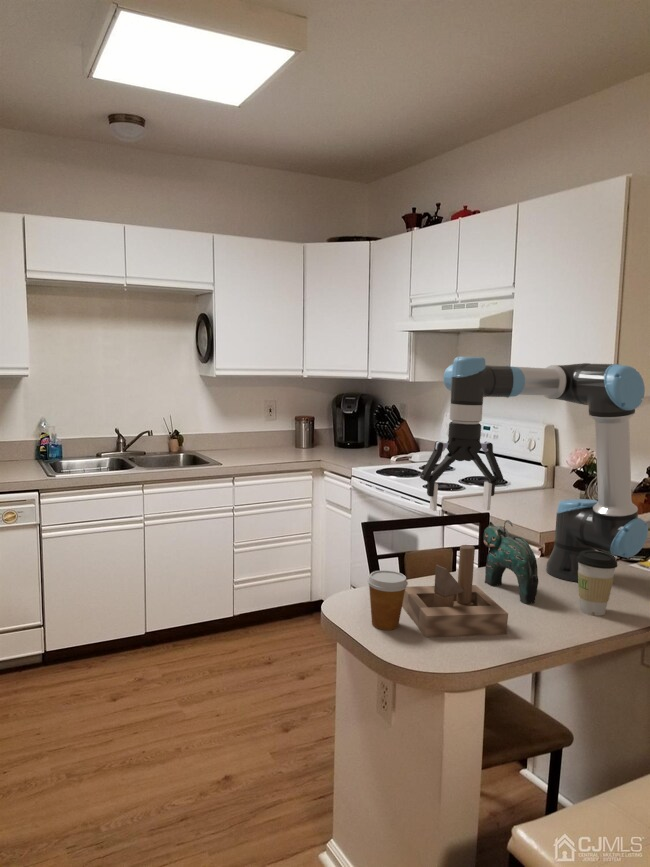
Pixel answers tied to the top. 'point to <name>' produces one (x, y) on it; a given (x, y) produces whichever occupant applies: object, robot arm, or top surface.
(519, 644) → the top surface
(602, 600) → the coffee cup
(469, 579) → the wooden post with wedge
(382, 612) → the disposable coffee cup
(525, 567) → the teal animal figurine
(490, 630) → the walnut slotted base
